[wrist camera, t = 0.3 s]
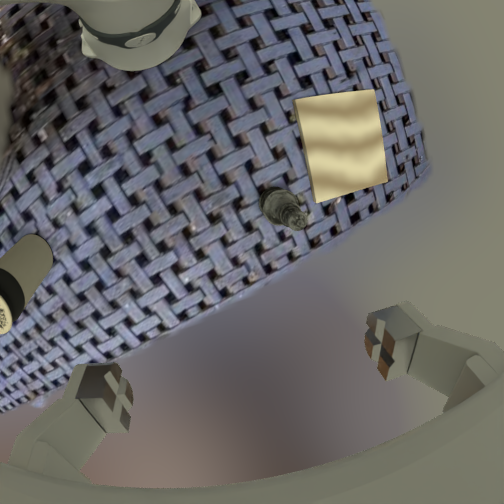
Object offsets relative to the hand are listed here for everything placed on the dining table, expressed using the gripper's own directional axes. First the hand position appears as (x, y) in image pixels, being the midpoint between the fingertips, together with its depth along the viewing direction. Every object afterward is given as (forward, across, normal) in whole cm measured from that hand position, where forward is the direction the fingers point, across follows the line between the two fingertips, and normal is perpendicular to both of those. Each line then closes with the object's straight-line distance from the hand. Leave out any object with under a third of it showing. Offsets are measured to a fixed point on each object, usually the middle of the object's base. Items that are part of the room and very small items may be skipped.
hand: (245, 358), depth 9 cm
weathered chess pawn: (+41, -9, +6) cm, 42 cm away
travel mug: (+36, +34, +6) cm, 50 cm away
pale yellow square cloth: (+41, -23, -2) cm, 48 cm away
